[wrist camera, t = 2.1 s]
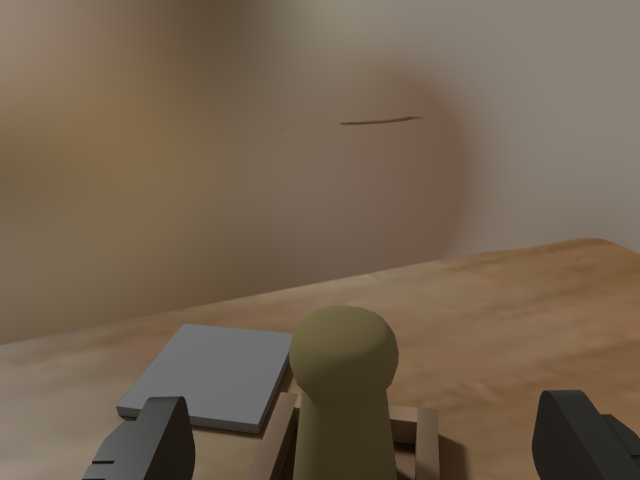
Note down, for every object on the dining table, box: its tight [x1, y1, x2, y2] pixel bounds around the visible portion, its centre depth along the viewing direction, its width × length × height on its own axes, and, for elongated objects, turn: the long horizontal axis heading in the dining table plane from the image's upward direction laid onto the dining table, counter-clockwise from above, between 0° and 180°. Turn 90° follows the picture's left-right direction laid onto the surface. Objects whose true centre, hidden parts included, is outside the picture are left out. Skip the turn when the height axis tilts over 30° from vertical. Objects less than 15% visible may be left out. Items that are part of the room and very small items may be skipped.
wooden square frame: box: [246, 392, 440, 480], centre depth 26 cm, size 10×10×2 cm
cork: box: [289, 306, 399, 480], centre depth 24 cm, size 6×6×11 cm
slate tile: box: [116, 324, 293, 434], centre depth 35 cm, size 10×10×1 cm
